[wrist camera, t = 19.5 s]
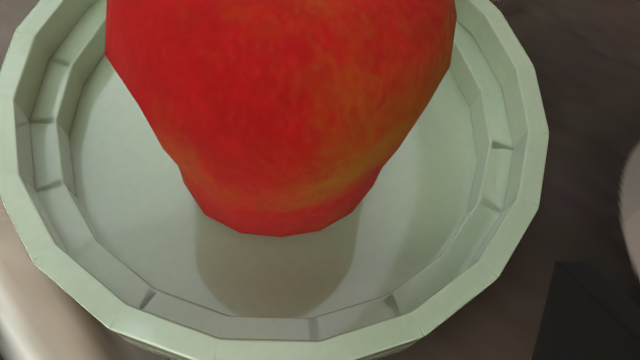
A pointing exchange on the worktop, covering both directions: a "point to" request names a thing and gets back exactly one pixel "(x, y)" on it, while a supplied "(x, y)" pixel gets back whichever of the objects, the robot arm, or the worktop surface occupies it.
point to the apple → (280, 97)
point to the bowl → (259, 250)
